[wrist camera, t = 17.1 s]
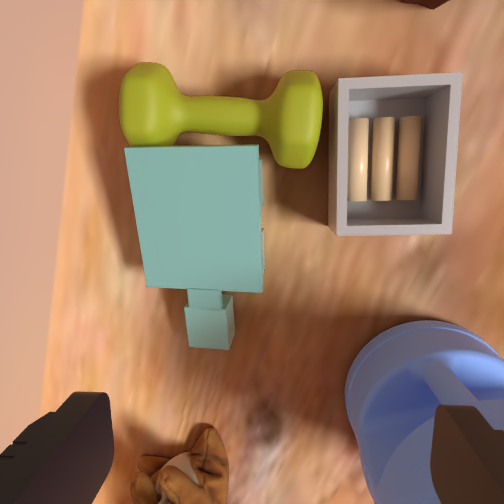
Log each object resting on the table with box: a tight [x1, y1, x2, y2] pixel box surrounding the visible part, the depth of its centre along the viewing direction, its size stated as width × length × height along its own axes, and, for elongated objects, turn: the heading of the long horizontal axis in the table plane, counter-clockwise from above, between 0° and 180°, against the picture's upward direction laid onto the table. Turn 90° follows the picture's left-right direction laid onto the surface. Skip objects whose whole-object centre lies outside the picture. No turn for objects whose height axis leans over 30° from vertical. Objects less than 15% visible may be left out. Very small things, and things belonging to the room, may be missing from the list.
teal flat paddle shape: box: [124, 144, 265, 350], centre depth 35 cm, size 19×11×3 cm, turn 1°
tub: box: [328, 72, 463, 236], centre depth 33 cm, size 12×9×6 cm
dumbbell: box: [119, 62, 323, 169], centre depth 33 cm, size 16×8×7 cm, turn 86°
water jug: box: [345, 320, 504, 504], centre depth 27 cm, size 16×16×28 cm
